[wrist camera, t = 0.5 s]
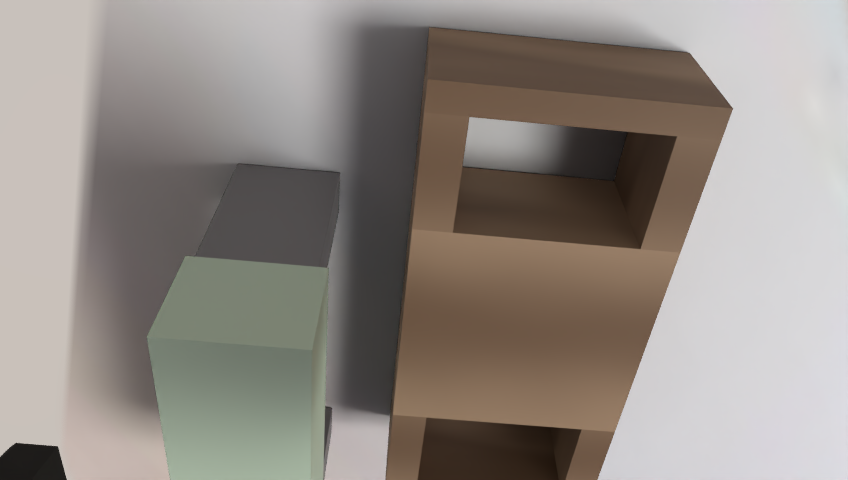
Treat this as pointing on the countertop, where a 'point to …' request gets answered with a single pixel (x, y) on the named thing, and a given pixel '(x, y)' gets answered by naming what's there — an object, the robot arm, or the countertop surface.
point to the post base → (539, 255)
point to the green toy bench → (250, 334)
